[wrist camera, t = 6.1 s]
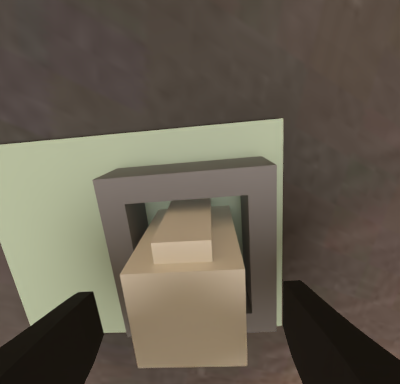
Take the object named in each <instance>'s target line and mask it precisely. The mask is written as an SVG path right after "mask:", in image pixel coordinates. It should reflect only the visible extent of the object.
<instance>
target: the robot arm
mask: <svg viewBox="0 0 400 384" xmlns="http://www.w3.org/2000/svg"><path fill="white" fill-rule="evenodd" d="M283 328H284V331H285V335H286V338H287V342H288V345H289V348H290V352H291V355H292V358H293V361H294V363H295V366H296V368H297V371H298V373H299V376H300V378H301V380H302V383H303V384H400V360H399V359H398V358H396V357H395V356H393V355H392V354H391V353H389V352H388V351H387V350H385V349H384V348H383V347H381V346H380V345H379V344H377V343H376V342H375V341H373V340H372V339H371V338H369V337H368V336H367V335H365V334H364V333H363V332H362V331H360V330H359V329H358V328H356V327H355V326H354V325H353V324H351V323H350V322H349V321H348V320H347V319H345V318H344V317H343V316H342V315H340V314H339V313H338V312H337V311H336V310H334V309H333V308H332V307H331V306H330V305H329V304H327V303H326V302H325V301H324V300H323V299H322V298H320V297H319V296H318V295H317V294H316V293H315V292H313V291H312V290H311V289H310V288H309V287H308V286H307V285H305V284H304V283H303V282H302V281H301V280H298V281H283ZM103 335H104V332H103V328H102V324H101V320H100V316H99V312H98V308H97V304H96V300H95V296H94V292H93V291H90V292H78V293H76V294H74V295H73V296H71V297H70V298H68V299H67V300H66V301H64V302H63V303H61V304H60V305H58V306H57V307H56V308H54V309H53V310H52V311H50V312H49V313H48V314H46V315H45V316H43V317H42V318H41V319H39V320H38V321H37V322H35V323H34V324H33V325H31V326H30V327H28V328H27V329H26V330H24V331H23V332H22V333H20V334H19V335H17V336H16V337H15V338H13V339H12V340H10V341H9V342H7V343H6V344H5V345H3V346H2V347H0V384H84V383H85V381H86V379H87V376H88V374H89V372H90V370H91V368H92V366H93V364H94V361H95V358H96V355H97V353H98V350H99V347H100V344H101V341H102V338H103Z"/></svg>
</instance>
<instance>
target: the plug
mask: <svg viewBox="0 0 400 384" xmlns="http://www.w3.org/2000/svg"><path fill="white" fill-rule="evenodd" d="M120 279H121V284H122V289H123V294H124V299H125V304H126V309H127V315H128V320H129V325H130V330H131V335H132V340H133V345H134V350H135V355H136V360H137V365H138V368H172V367H222V366H247V326H246V285H245V267H244V263H243V259H242V255H241V251H240V247H239V243H238V239H237V235H236V231H235V227H234V223H233V219H232V216H231V212H230V208H229V205H227V206H211V199H210V198H201V199H188V200H175V201H171V203H170V205H169V207H168V209H159V210H158V211H157V213H156V215H155V216H154V218H153V220H152V221H151V223H150V225H149V226H148V228H147V230H146V231H145V233H144V235H143V236H142V238H141V240H140V241H139V243H138V245H137V246H136V248H135V250H134V251H133V253H132V255H131V256H130V258H129V260H128V262H127V263H126V265H125V267H124V268H123V270H122V272H121V273H120Z"/></svg>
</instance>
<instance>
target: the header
mask: <svg viewBox="0 0 400 384" xmlns="http://www.w3.org/2000/svg"><path fill="white" fill-rule="evenodd" d="M201 198H210V199H211V206H227V205H229V208H230V212H231V216H232V219H233V223H234V227H235V231H236V235H237V239H238V243H239V247H240V251H241V255H242V259H243V263H244V267H245V285H246V326H247V333H254V332H277V326H282V213H283V118H282V119H271V120H260V121H250V122H239V123H228V124H217V125H207V126H196V127H185V128H175V129H164V130H153V131H142V132H132V133H121V134H110V135H100V136H89V137H78V138H67V139H57V140H46V141H35V142H25V143H14V144H3V145H0V243H1V245H2V248H3V251H4V254H5V256H6V259H7V262H8V265H9V268H10V270H11V273H12V276H13V279H14V281H15V284H16V287H17V290H18V292H19V295H20V298H21V301H22V304H23V306H24V309H25V312H26V315H27V317H28V320H29V323H30V326H31V325H33V324H34V323H35V322H37V321H38V320H39V319H41V318H42V317H43V316H45V315H46V314H48V313H49V312H50V311H52V310H53V309H54V308H56V307H57V306H58V305H60V304H61V303H63V302H64V301H66V300H67V299H68V298H70V297H71V296H73V295H74V294H76V293H78V292H90V291H93V292H94V296H95V300H96V304H97V308H98V312H99V316H100V320H101V324H102V328H103V332H104V333H118V332H126V334H127V337H132V335H131V330H130V325H129V320H128V315H127V309H126V304H125V299H124V294H123V289H122V284H121V279H120V273H121V272H122V270H123V268H124V267H125V265H126V263H127V262H128V260H129V258H130V256H131V255H132V253H133V251H134V250H135V248H136V246H137V245H138V243H139V241H140V240H141V238H142V236H143V235H144V233H145V231H146V230H147V228H148V226H149V225H150V223H151V221H152V220H153V218H154V216H155V215H156V213H157V211H158V210H159V209H168V207H169V205H170V203H171V201H175V200H188V199H201Z"/></svg>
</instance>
